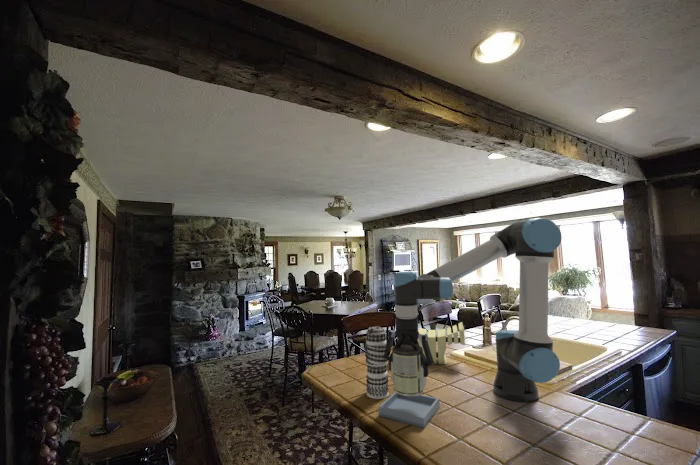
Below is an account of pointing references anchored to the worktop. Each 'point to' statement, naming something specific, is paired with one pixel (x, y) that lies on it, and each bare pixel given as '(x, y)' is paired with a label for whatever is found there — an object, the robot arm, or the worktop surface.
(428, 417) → the tray
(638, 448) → the worktop surface
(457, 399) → the worktop surface
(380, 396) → the decorative candle
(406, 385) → the coffee can
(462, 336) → the slatted curved stool
